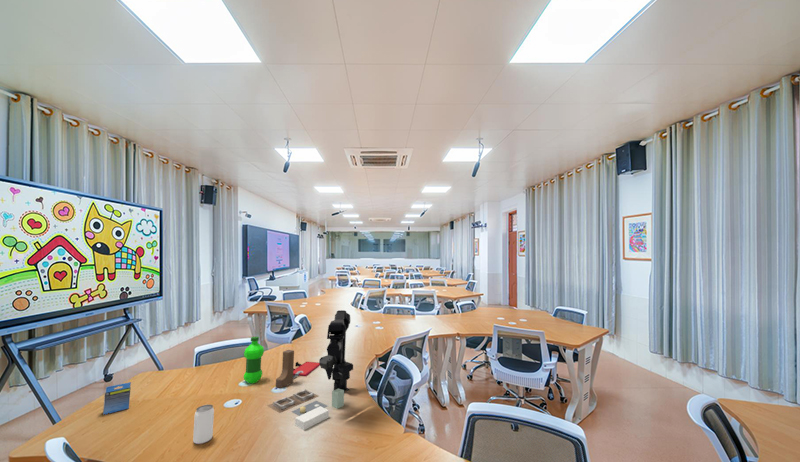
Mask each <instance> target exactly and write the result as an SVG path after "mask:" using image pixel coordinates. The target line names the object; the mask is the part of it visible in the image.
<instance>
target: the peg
mask: <svg viewBox="0 0 800 462" xmlns="http://www.w3.org/2000/svg"><path fill="white" fill-rule="evenodd" d="M344 406H345V392H344V390H342V389H339V388H338V389H336V390H334V389H333V390H331V407H332V408H335V409H337V410H338V409H339V408H343V407H344Z"/></svg>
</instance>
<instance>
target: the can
mask: <svg viewBox="0 0 800 462" xmlns="http://www.w3.org/2000/svg"><path fill="white" fill-rule="evenodd" d="M195 410H196V411H195V412H194V420H193V421H194V422H193V436H192V437H193V439H192V441H193V443H194V444H195V445H202V444H205V443H208V442H209V441H210V440H212V438H213V434H214V433H213V432H214V418H215V417H214V416H215V409H214V406H213V404H203V405H201V406H198V407H197V408H196V409H195Z"/></svg>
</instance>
